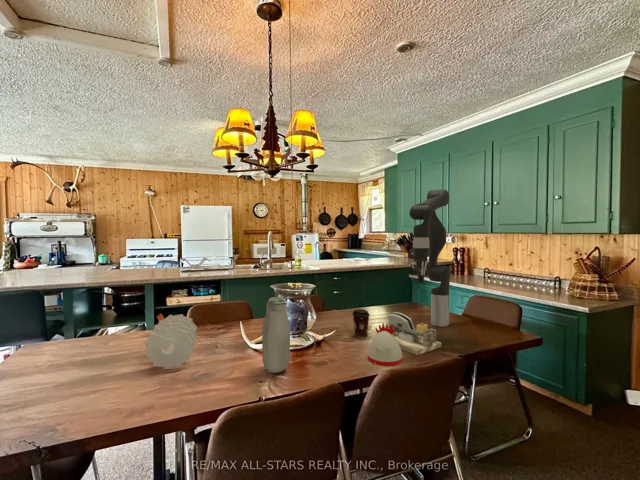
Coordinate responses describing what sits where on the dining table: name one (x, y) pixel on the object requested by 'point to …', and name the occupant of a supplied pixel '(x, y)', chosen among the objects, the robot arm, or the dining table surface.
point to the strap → (409, 330)
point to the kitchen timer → (385, 348)
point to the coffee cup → (361, 323)
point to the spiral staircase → (171, 341)
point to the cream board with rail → (416, 341)
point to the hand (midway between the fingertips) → (421, 282)
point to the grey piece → (400, 320)
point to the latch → (421, 328)
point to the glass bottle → (276, 336)
